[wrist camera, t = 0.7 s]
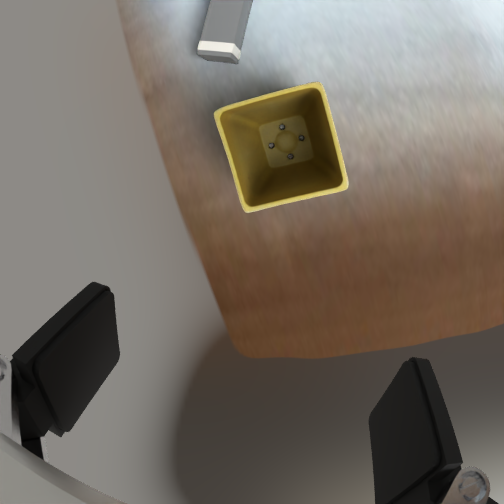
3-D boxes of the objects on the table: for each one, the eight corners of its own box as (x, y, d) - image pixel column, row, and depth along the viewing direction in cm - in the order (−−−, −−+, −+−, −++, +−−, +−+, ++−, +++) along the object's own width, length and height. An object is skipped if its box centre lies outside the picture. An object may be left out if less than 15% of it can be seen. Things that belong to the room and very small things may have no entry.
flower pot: (338, 173, 31) (350, 190, 23) (258, 192, 33) (243, 214, 25) (316, 93, 28) (321, 80, 20) (235, 114, 30) (211, 110, 22)
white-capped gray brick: (227, -22, 24) (220, -35, 21) (258, -20, 24) (253, -33, 20) (206, 60, 28) (196, 54, 25) (238, 64, 28) (230, 57, 25)
